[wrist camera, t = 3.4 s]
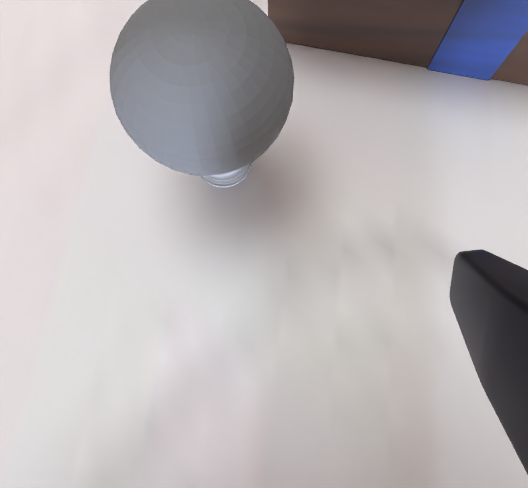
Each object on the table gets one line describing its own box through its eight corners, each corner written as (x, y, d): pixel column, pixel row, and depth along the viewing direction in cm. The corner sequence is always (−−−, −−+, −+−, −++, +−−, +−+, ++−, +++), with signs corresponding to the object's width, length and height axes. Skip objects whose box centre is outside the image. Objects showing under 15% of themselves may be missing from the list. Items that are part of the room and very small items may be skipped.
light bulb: (143, 134, 24) (51, -21, 14) (257, 89, 24) (246, -94, 14) (188, 246, 22) (121, 161, 13) (308, 195, 23) (334, 75, 13)
